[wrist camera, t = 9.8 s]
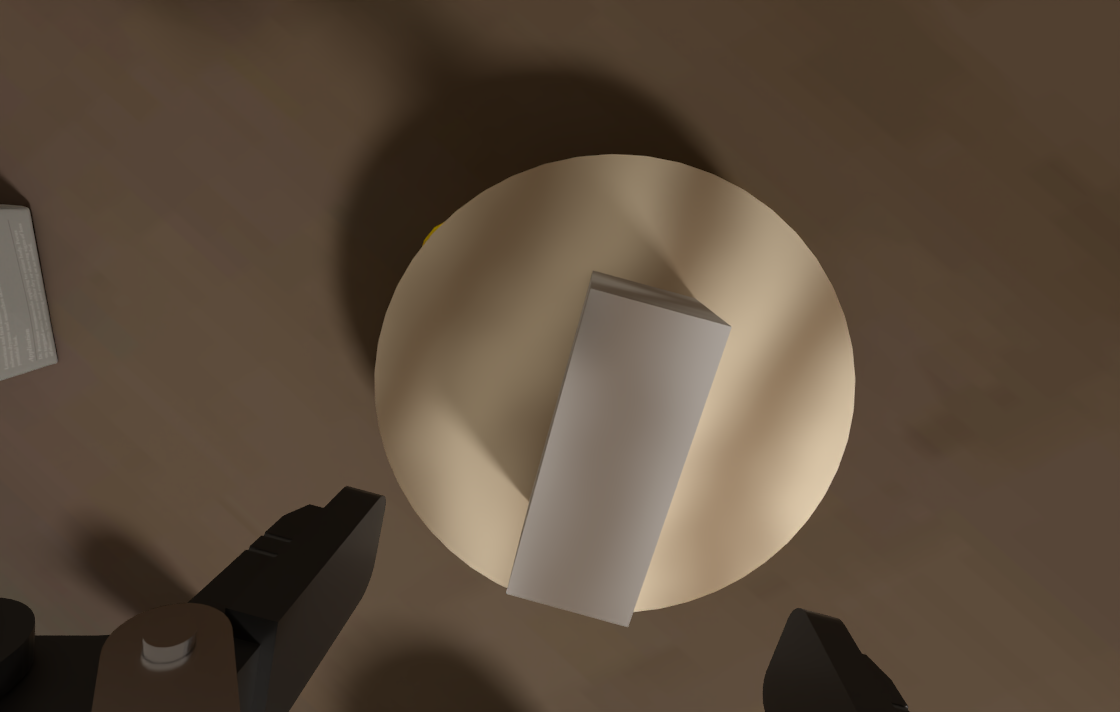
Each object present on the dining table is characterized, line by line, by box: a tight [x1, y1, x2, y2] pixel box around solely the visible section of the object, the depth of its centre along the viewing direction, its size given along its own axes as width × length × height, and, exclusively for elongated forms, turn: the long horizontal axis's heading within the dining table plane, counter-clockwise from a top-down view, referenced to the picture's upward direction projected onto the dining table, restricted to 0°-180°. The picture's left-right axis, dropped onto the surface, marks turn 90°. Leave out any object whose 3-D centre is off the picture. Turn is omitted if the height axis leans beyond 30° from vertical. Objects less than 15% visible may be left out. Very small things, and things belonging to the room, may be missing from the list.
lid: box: [375, 154, 855, 627], centre depth 20 cm, size 19×19×7 cm
